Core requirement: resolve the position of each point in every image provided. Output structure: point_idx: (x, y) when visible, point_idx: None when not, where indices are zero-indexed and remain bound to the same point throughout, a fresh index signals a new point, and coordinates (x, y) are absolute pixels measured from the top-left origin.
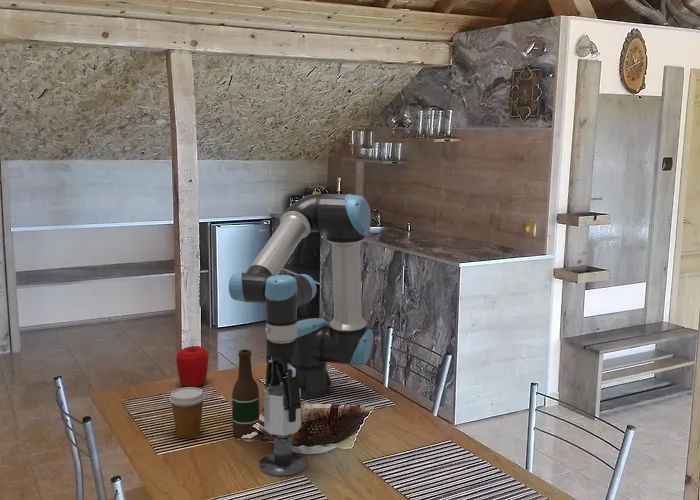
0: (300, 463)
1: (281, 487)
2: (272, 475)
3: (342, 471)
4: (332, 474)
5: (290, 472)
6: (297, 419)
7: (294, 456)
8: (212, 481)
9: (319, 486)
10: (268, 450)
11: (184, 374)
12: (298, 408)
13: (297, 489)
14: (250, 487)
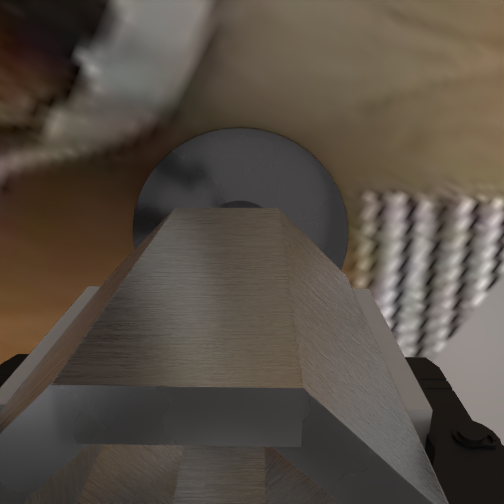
0: (285, 174)
1: (406, 316)
2: None
3: (449, 13)
4: (444, 77)
5: (338, 249)
6: (341, 292)
7: (205, 166)
8: None
9: (497, 185)
10: (75, 232)
11: None
12: (333, 313)
13: (458, 273)
14: None
